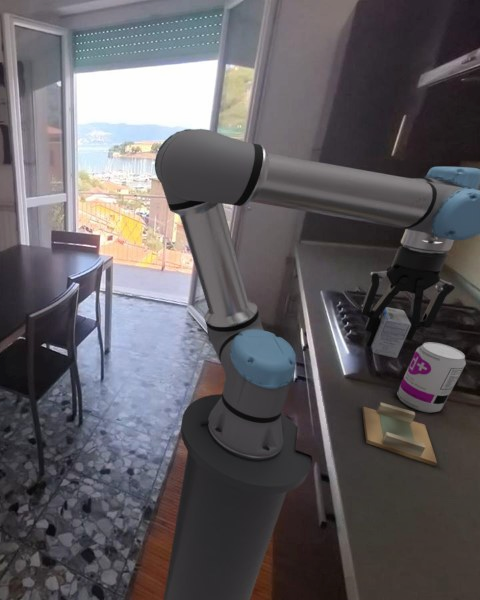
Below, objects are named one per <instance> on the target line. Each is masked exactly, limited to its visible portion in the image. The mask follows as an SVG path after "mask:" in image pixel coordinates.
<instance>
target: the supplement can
mask: <svg viewBox="0 0 480 600" xmlns="http://www.w3.org/2000/svg"><path fill="white" fill-rule="evenodd" d="M466 365H467V361H466V355H465V354H464V353H463V352H462V351H461V350H459V349H457V348H455V347H452V346H451V345H448V344H444V343H439V342H432V341H431V342H430V341H428V342H427V341H426V342H424V343H422V345H420V346H418V347H417V348H416V350H415V352H414V354H413V356H412V358H411V361H410V363H409V364H408V367H407V369H406V371H405V374H404V375H403V378H402V380H401V382H400V384H399V386H398V388H397V391H396V396H397V397H398V399H399V400H400V401H401V402H402V403H403V404H404V405H405V406H408V407H409V408H411V409H413V410H416V411H418V412H423V413H428V414H429V413H437V412H440V411H442V409H443V408H444V405H445V404H446V402H447V400H448V398H449V396H450V394H451V393H452V391H453V390H454V387H455V385H456V383H457V382H458V380H459V379H460V376H461V374H462V373H463V370H464V368H465V366H466Z"/></svg>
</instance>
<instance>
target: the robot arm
mask: <svg viewBox="0 0 480 600" xmlns="http://www.w3.org/2000/svg"><path fill="white" fill-rule="evenodd" d="M154 172H155V175H156V178H157V179H158V181H159V183H161V188H162V190H163V192H164V196H165V199H166V202H167V206H168V209H169V211H170V212H172V213H174V214H176V215H178V216H179V218H180V222H181V226H182V228H183V231H184V234H185V235H184V236H185V238H186V241H187V244H188V248H189V251H190V254H191V257H192V260H193V264H194V268H195V270H196V273H197V277H198V280H199V284H200V287H201V289H202V293H203V296H204V299H205V302H206V306H207V309H206V311H205V312H204V315H203V318H204V319H203V320H204V321H205V325H206V330H207V331H206V332H207V333H206V334H207V337H208V340H209V343H210V344H211V346H212V347H213V349H214V351H215V353H216V355H217V358H218V360H219V362H220V365H221V367H222V369H223V371H224V382H223V383H224V384H223V387H222V393H221V394H222V397H221V398H220V400H219V401H218V403H217V404H216V405H215V407H214V408H213V410H212V411H211V413H210V415H209V418H208V420H207V421H200V423H201V426H203V425H207V427H208V432H209V434H210V436H211V438H212V439H213V440H214V442H215V443H216V444H217V445H218V446H219V447H221V448H222V449H223V450H225V451H226V452H228V453H230V454H232V455H234V456H236V457H238V458H241V459H244V460H249V461H259V462H260V461H268V460H271V459H273V458H275V457H276V456H278V455H279V453H280V452H281V449H282V446H283V439H284V436H283V433H284V431H283V427H282V423H281V413H282V412H283V409H284V406H285V403H286V399H287V397H288V393H289V390H290V387H291V383H292V380H293V378H294V376H295V371H296V363H297V355H296V352H295V349H294V348H293V346H292V345H291V344H290V343H289V342H288V341H286V339H284V338H283V337H281V336H276V334H275V333H273V332H270V331H266V330H265V329H264V327H263V324H262V320H261V317H260V313H259V309H258V305H257V304H256V303H255V301H253V300H251V299H248V296H247V291H246V288H245V284H244V280H243V275H242V273H241V269H240V265H239V262H238V257H237V254H236V249H235V246H234V242H233V238H232V234H231V231H230V230H231V229H230V226H229V223H228V218H227V215H226V212H225V208H224V205H231V206H236V207H243V206H245V205H247V204H249V203H250V202H251V203H256V204H262V205H267V206H274V207H278V208H279V207H280V208H285V209H290V210H297V211H301V212H307V213H308V212H309V213H313V214H319V215H324V216H325V215H326V216H329V217H330V216H331V217H337V218H343V219H347V220H354V221H359V222H364V223H371V224H376V225H382V226H387V227H393V228H399V229H402V230H403V229H404V233H403V235H402V238H401V239H400V244H401V245H400V246H398V248H397V250H396V253H395V256H394V258H393V260H392V263H391V265H390V266H389V267H388V268H387V269H386V270H380V271H376V270H371V271H370V272H369V274H370V282H369V285H368V288H367V291H366V293H365V297H364V299H363V302H362V305H361V308H360V310H361V314H362V316H367V317H368V318H367V321H366V323H365V326H364V328H365V331H366V332H368V333H367V335H366V338H365V341H364V342H365V344H366V345H365V346H366V347H370V348H371V344H372V342H373V340H374V337H375V335H376V332H377V330H378V327H379V325H380V322H381V321H380V318H379V316H380V315H381V313H382V312H383V311H384V309H385V308H386V307H388V306H389V304H391V302H392V301H393V300H394V298H395V297H396V296H397V295H398V294H399V293H400V292H407V293H411V300H410V301H411V302H410V311H409V312H410V313H409V321H410V323H411V327H410V329H409V331H408V334H407V336H406V338H405V340H404V343H403V345H402V347H401V350H400V352H399V354H401V351H402V349H403V347H404V345H405V342H406V341H407V340H408V341H412V340H413V338H414V336H415V334H416V332H417V330H420V328H427V329H428V328H431V327H432V326H433V324H434V322H435V319H436V317H437V315H438V313H439V312H440V310H441V307H442V306H443V303H444V301H445V299H446V297H447V296H448V295H449V294H450V293H452V292H453V291H454V290H455V288H456V287H455V286H454V285H453V283H452V282H451V281H448V280H447V281H445V280H444V279H441V276H440V273H441V271H442V269H443V266H444V264H445V262H446V260H447V258H448V255H449V254H448V253H447V252H448V251H450V250H451V249H452V246H453V244H454V242H455V241H465V240H469V239H473V238H475V237H477V236H479V235H480V190H479V188H480V168H476V167H466V166H433V167H431V168H430V169H429V170H428V172H427V174H426V175H425V176H424V177H419V178H417V177H416V178H414V177H413V178H411V177H404V176H398V175H394V174H388V173H387V174H386V173H382V172H376V171H370V170H364V169H359V168H354V167H348V166H342V165H337V164H331V163H325V162H321V161H320V162H319V161H313V160H308V159H302V158H296V157H291V156H286V155H280V154H276V153H275V154H274V153H269V152H267V151H266V148H265V147H264V145H262V144H258V143H252V142H249V141H244V140H240V139H238V138H234V137H230V136H227V135H224V134H222V133H219V132H216V131H213V130H210V129H206V128H196V129H195V128H194V129H192V128H185V129H182V130H179V131H176V132H175V133H172V134H171V135H169V136H168V138H166V139H165V140H164V141H163V142H162V144H161V145H160V146H159V148H158V150H157V153H156V155H155V159H154ZM386 277H387V279H388V280H389V282H390V284H388V287H387V289H386V290H385V292H384V293H383V295H381V297H380V298H379V300H378V301H377V302H376V304H375V305H374V306H373V304H374V301H375V297H376V296H377V293H378V289H379V286H380V283H381V282H383V281H384V279H385V278H386ZM434 285H435V291H434V293H433V295H432V296H431V298H430V301H429V303H428V305H427V307H426V310H425V311H424V314H423V316H422V317H421V312H422V305H423V304H422V303H423V298H424V291H425V290H427V289H429V288H431V287H433V286H434ZM372 306H373V308H372ZM282 414H283V413H282Z"/></svg>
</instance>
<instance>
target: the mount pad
mask: <svg viewBox="0 0 480 600" xmlns="http://www.w3.org/2000/svg"><path fill="white" fill-rule="evenodd" d="M361 411H362V419H363V428H364V434H365V435H364V436H365V443H366V444H368V445H371V446H373V447H377V448H380V449H383V450H386V451H388V452H392V453H394V454H398V455H400V456H403V457H407V458H409V459H412V460H415V461H419V462H421V463H424V464H426V465H429V466H433V467H436V466H437V464H438V461H437V457H436V455H435V452H434V448H433V446H432V445H433V444H432V442H431V439H430V437H429V436H430V435H429V434H428V430H427V427H426V424H423V423H421V422H418V421H414V419H415V417H416V412H415V411H413V410H409V409H406V408H402V407H399V406H396V405H391V404H388V403H385V402H380V403H379V404H378V407H377V409H373V408H369V407H366V406H363V407H362V409H361Z"/></svg>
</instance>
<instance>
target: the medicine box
mask: <svg viewBox="0 0 480 600" xmlns="http://www.w3.org/2000/svg"><path fill="white" fill-rule="evenodd" d="M379 318H380V321H381V322H380V325H379V327H378V330H377V332H376V335H375V337H374V340H373V342H372V344H371V347H370V348H371V351H372V354H376V355H380V356H384V357H389V358H393V359H397V358H398V356H399V354H400V353H401V351H402V349H401V347H402V345H403V346H404V344H405V342H404V340H405V338H406V336H407V334H408V331H409V329H410V327H411V323H410V321H409V320H410V318H408V315H407V314H406V312H405V310H403V309H399V308H393V307H388V306H387V307H386V308H385V309H384V311H383V312H382V313H381V315H380V316H379ZM405 341H406V340H405ZM403 343H404V344H403ZM402 348H403V347H402ZM400 350H401V351H400ZM399 352H400V353H399Z"/></svg>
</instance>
